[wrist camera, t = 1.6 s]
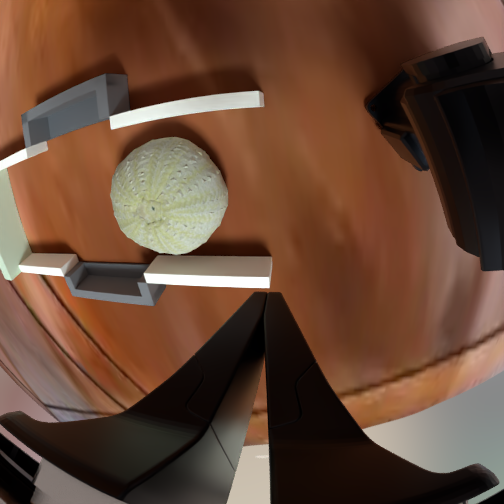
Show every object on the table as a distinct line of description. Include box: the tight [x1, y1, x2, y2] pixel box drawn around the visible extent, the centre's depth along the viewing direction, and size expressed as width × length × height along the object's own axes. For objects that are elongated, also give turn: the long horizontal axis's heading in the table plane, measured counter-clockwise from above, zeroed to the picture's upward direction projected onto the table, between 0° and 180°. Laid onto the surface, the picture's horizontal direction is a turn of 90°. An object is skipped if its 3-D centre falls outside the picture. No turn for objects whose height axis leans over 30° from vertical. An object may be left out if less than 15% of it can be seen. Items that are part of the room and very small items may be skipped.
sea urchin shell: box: [110, 137, 228, 255], centre depth 20 cm, size 9×8×8 cm
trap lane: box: [0, 73, 272, 306], centre depth 21 cm, size 31×20×3 cm, turn 95°
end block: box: [0, 168, 32, 280], centre depth 23 cm, size 2×14×5 cm, turn 5°
